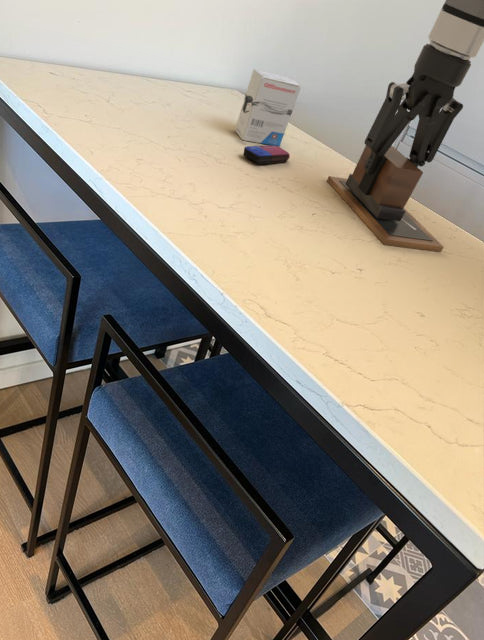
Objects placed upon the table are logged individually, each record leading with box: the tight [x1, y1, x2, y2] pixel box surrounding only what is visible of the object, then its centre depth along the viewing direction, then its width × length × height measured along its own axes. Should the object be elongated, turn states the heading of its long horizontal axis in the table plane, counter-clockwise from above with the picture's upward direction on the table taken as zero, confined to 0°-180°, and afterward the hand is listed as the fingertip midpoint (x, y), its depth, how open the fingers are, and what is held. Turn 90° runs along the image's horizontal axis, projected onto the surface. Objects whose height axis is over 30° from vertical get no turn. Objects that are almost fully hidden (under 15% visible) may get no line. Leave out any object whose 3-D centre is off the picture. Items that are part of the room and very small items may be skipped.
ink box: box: [234, 68, 302, 147], centre depth 109 cm, size 8×5×12 cm, turn 108°
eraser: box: [243, 145, 291, 165], centre depth 104 cm, size 11×4×2 cm, turn 136°
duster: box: [345, 145, 424, 221], centre depth 97 cm, size 12×5×8 cm, turn 18°
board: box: [326, 175, 445, 253], centre depth 101 cm, size 22×12×1 cm, turn 17°
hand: (377, 193), depth 99 cm, fingers closed on duster, 5 cm apart
